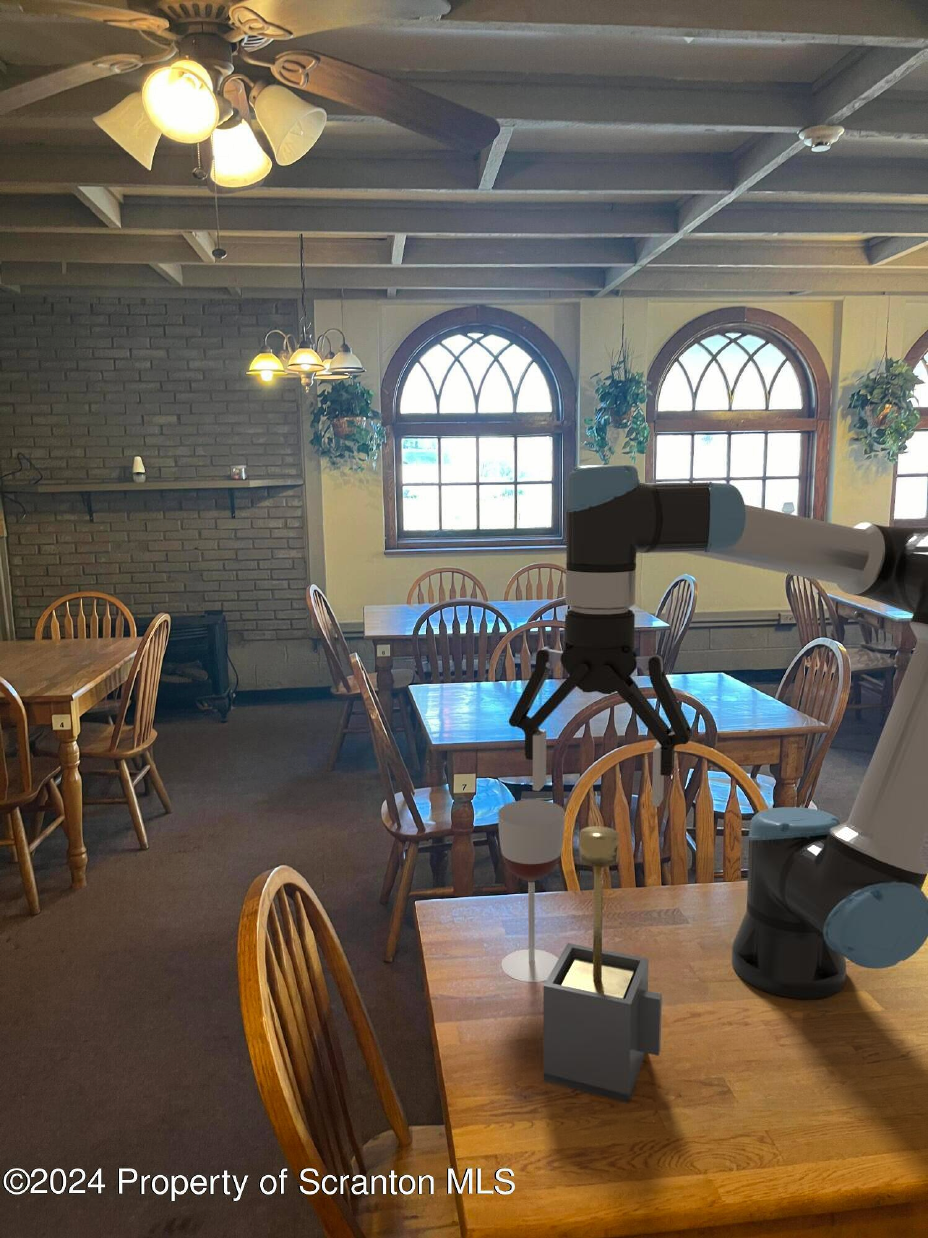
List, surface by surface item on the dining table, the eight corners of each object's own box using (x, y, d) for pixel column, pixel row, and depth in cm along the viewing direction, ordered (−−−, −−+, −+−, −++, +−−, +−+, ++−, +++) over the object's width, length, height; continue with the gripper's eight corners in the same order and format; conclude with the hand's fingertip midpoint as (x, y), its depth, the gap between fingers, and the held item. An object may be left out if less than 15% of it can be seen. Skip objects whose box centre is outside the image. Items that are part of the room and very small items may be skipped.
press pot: (666, 1054, 107) (668, 962, 105) (650, 1108, 98) (652, 1009, 96) (567, 1031, 112) (567, 943, 110) (543, 1081, 103) (543, 985, 101)
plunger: (634, 976, 106) (636, 826, 103) (620, 1009, 99) (623, 850, 96) (575, 964, 108) (576, 818, 105) (558, 996, 102) (559, 841, 99)
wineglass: (573, 955, 130) (573, 805, 126) (550, 991, 121) (550, 830, 117) (514, 942, 134) (514, 796, 130) (488, 976, 125) (486, 820, 121)
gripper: (722, 609, 95) (715, 797, 99) (504, 598, 105) (504, 771, 108) (713, 619, 89) (706, 821, 92) (480, 607, 98) (481, 791, 101)
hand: (596, 794), depth 100 cm, fingers open, 13 cm apart
